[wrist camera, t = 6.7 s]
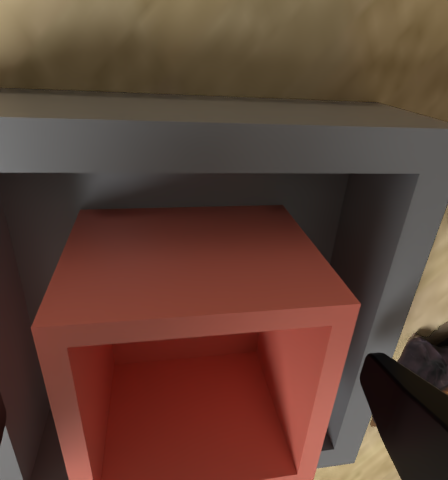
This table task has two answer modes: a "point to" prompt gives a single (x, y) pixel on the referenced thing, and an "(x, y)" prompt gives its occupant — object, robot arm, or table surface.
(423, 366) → the bread roll
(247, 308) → the small crate
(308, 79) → the table surface
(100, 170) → the big crate
